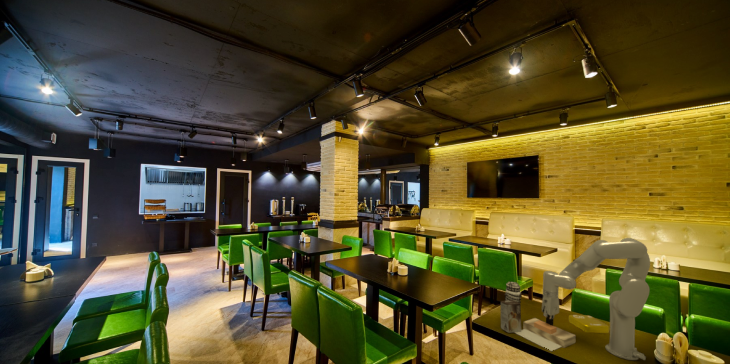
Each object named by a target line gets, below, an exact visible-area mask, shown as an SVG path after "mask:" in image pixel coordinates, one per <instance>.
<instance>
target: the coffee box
mask: <svg viewBox="0 0 730 364" xmlns="http://www.w3.org/2000/svg"><path fill="white" fill-rule="evenodd" d="M499 303H500V329H501V330H503V331H504V332H507V333H509V334H511V333H515V332H519V331H521V330H522V316H521V315H522V313H521V312H522V311H521V307H522V306H521V303H518V302H516V301H513V300H507V301H505V300H500V302H499Z"/></svg>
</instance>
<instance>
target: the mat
mask: <svg viewBox="0 0 730 364" xmlns="http://www.w3.org/2000/svg"><path fill="white" fill-rule="evenodd" d="M514 334H516V335H518V336H520V337H523V338H524V339H526V340H527V341H529V342H532V343H534V344H536V345H538V346H539V347H542V348H544V347H545V348H544V349H546V348H547V349H546V350H548V349H549V350H548V351H549V352H554V351H556V350H558V349H560V348H563V347H562V346H560V345H558V344H556V343H554V342H552V341H550V340H548V339H545V338H543V337H541V336H539V335H537V334H535V333H533V332H531V331H529V330H526V329H521V331H519V332H514ZM553 350H554V351H553Z"/></svg>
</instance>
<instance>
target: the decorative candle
mask: <svg viewBox="0 0 730 364" xmlns="http://www.w3.org/2000/svg"><path fill="white" fill-rule="evenodd" d="M505 285H506V287H505V292H504V301H507V300H513V301H516V302H518V303H520V304H521V303H522V299H521V298H522V292H521V286H520V285H519V283H517V282H515V281H508V282H507V283H506V284H505Z"/></svg>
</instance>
